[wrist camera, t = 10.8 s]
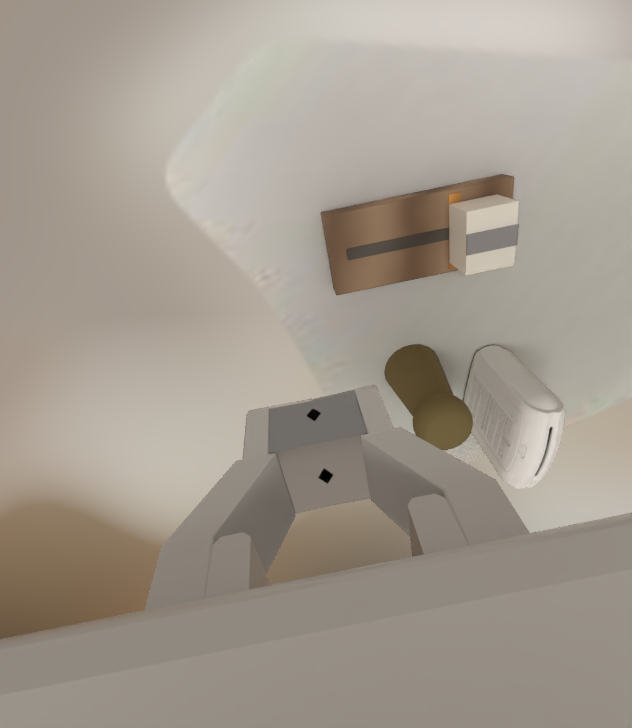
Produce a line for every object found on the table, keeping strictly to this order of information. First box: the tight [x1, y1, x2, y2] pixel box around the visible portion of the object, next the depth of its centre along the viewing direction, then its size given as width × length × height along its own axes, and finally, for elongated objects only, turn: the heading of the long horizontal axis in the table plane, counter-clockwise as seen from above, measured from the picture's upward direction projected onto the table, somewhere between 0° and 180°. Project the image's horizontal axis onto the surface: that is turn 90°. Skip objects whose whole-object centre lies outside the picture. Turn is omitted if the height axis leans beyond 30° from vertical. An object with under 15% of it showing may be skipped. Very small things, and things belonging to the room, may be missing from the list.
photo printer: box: [463, 345, 565, 489], centre depth 41 cm, size 10×4×12 cm, turn 0°
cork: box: [385, 345, 473, 450], centre depth 39 cm, size 6×6×11 cm
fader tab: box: [449, 194, 519, 275], centre depth 33 cm, size 4×5×4 cm
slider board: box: [321, 174, 514, 295], centre depth 36 cm, size 16×7×2 cm, turn 99°
